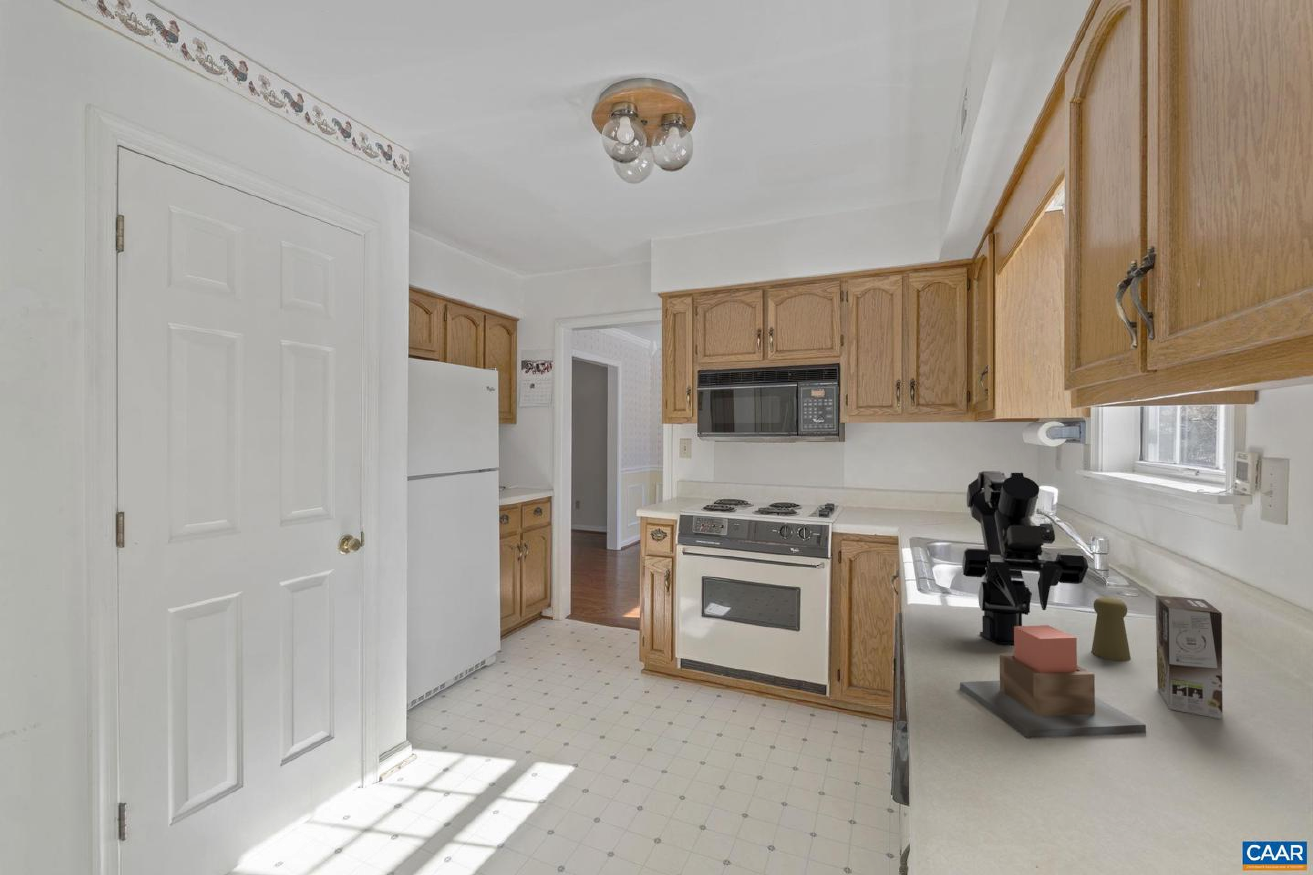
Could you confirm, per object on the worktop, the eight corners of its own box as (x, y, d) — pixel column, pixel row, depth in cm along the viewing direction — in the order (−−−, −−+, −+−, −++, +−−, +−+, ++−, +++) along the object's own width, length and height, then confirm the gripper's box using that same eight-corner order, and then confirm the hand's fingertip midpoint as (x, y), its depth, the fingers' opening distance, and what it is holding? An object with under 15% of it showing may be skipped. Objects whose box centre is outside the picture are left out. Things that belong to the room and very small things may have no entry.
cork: (1095, 657, 110) (1094, 600, 110) (1088, 647, 115) (1087, 593, 115) (1134, 662, 107) (1134, 604, 107) (1126, 652, 112) (1125, 596, 113)
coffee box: (1225, 720, 85) (1223, 613, 85) (1168, 709, 89) (1167, 606, 89) (1207, 696, 93) (1206, 598, 93) (1155, 687, 97) (1154, 593, 97)
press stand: (1060, 685, 98) (1060, 643, 98) (1146, 732, 82) (1145, 683, 82) (960, 689, 97) (959, 646, 97) (1026, 738, 81) (1026, 687, 81)
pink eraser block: (1048, 661, 93) (1048, 625, 93) (1077, 676, 87) (1076, 637, 87) (1014, 663, 92) (1014, 626, 92) (1040, 678, 86) (1040, 638, 86)
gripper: (963, 505, 106) (973, 578, 96) (1084, 508, 99) (1108, 587, 89) (958, 540, 113) (967, 611, 103) (1070, 545, 106) (1091, 622, 96)
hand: (1030, 607), depth 98 cm, fingers open, 4 cm apart
